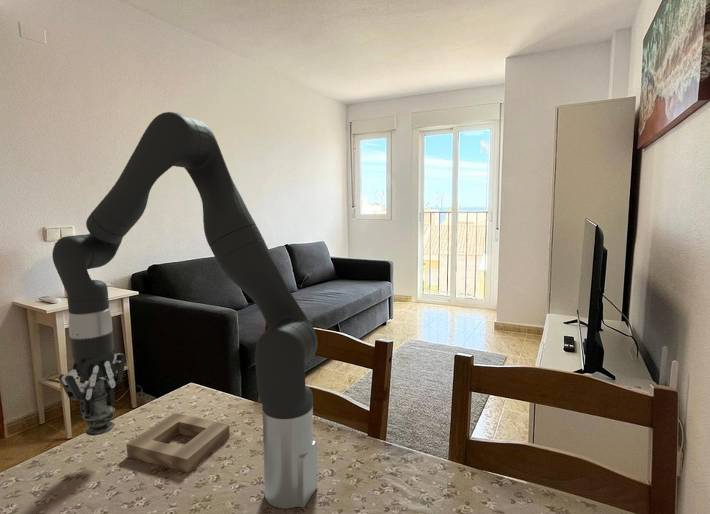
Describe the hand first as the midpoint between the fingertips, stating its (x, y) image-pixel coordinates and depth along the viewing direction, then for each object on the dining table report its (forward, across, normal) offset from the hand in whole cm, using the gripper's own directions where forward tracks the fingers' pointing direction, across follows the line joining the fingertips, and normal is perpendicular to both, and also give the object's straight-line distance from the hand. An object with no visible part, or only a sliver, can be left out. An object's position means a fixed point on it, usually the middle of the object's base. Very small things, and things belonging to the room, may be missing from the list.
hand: (98, 409), depth 88 cm
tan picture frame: (+11, +9, -13) cm, 19 cm away
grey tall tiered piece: (+5, 0, 0) cm, 5 cm away
